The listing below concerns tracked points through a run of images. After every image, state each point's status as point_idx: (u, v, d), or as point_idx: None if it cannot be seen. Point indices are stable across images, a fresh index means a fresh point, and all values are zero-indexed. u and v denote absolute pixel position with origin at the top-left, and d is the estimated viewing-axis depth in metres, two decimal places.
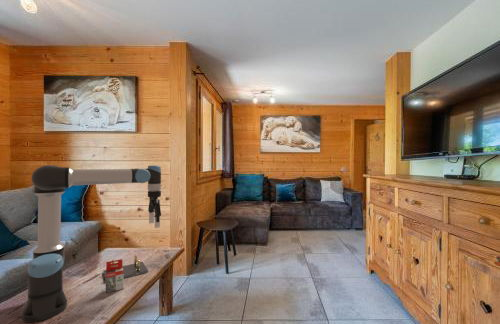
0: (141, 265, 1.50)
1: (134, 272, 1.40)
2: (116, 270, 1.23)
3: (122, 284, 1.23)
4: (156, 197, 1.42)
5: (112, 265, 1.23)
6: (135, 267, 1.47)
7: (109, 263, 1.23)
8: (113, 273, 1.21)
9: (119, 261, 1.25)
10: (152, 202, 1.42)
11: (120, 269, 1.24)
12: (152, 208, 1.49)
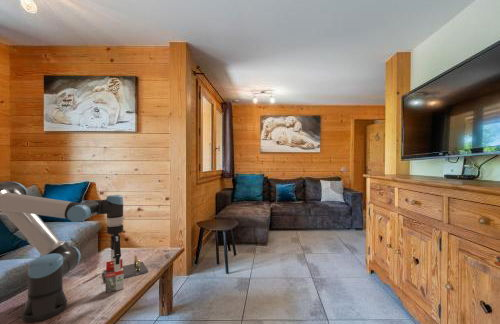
0: (141, 265, 1.50)
1: (134, 272, 1.40)
2: None
3: (122, 284, 1.23)
4: (116, 233, 1.20)
5: (112, 265, 1.23)
6: (135, 267, 1.47)
7: (109, 263, 1.23)
8: (113, 273, 1.21)
9: None
10: (112, 239, 1.20)
11: None
12: None
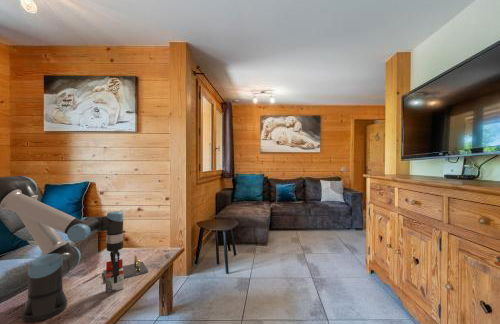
0: (141, 265, 1.50)
1: (134, 272, 1.40)
2: None
3: (122, 284, 1.23)
4: (116, 251, 1.20)
5: (112, 265, 1.23)
6: (135, 267, 1.47)
7: (109, 263, 1.23)
8: None
9: (119, 261, 1.25)
10: (111, 257, 1.20)
11: (120, 269, 1.24)
12: None
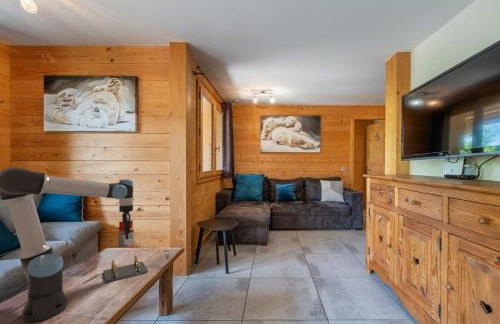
0: (141, 265, 1.50)
1: (134, 272, 1.40)
2: None
3: (132, 241, 1.44)
4: (127, 212, 1.40)
5: None
6: (135, 267, 1.47)
7: (121, 223, 1.43)
8: None
9: (130, 221, 1.46)
10: (123, 217, 1.41)
11: (131, 228, 1.45)
12: None
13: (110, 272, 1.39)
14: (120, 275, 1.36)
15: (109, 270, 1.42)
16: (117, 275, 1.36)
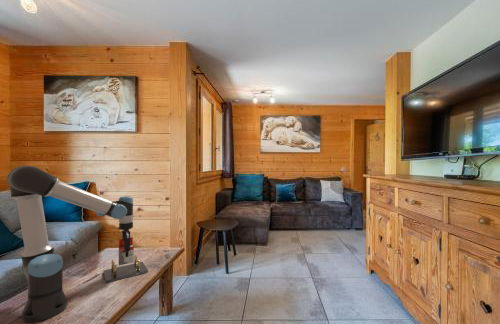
0: (141, 265, 1.50)
1: (134, 272, 1.40)
2: None
3: (133, 258, 1.44)
4: (127, 229, 1.40)
5: None
6: (135, 267, 1.47)
7: (121, 240, 1.43)
8: None
9: (130, 238, 1.45)
10: (123, 235, 1.40)
11: (131, 245, 1.44)
12: None
13: (110, 272, 1.39)
14: (120, 275, 1.36)
15: (109, 270, 1.42)
16: (117, 275, 1.36)
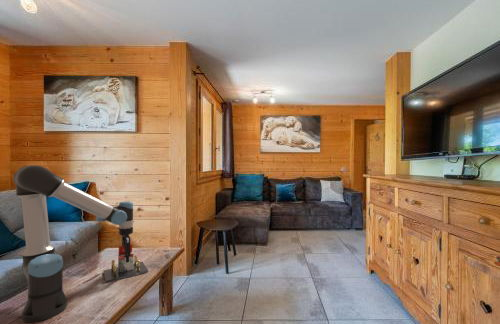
0: (141, 265, 1.50)
1: (134, 272, 1.40)
2: None
3: (132, 265, 1.43)
4: (127, 235, 1.40)
5: (123, 249, 1.43)
6: (135, 267, 1.47)
7: (121, 247, 1.43)
8: None
9: None
10: (123, 240, 1.40)
11: None
12: None
13: (110, 272, 1.39)
14: (120, 275, 1.36)
15: (109, 270, 1.42)
16: (117, 275, 1.36)
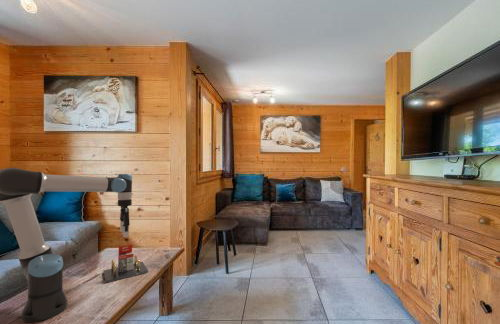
0: (141, 265, 1.50)
1: (134, 272, 1.40)
2: (127, 253, 1.43)
3: (132, 265, 1.43)
4: (126, 206, 1.40)
5: (123, 249, 1.44)
6: (135, 267, 1.47)
7: (121, 247, 1.43)
8: (125, 256, 1.41)
9: (129, 245, 1.45)
10: (122, 211, 1.40)
11: (130, 253, 1.44)
12: None
13: (110, 272, 1.39)
14: (120, 275, 1.36)
15: (109, 270, 1.42)
16: (117, 275, 1.36)
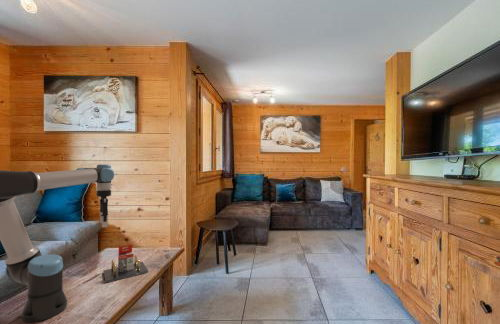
0: (141, 265, 1.50)
1: (134, 272, 1.40)
2: (127, 253, 1.43)
3: (132, 265, 1.43)
4: (105, 196, 1.41)
5: (123, 249, 1.44)
6: (135, 267, 1.47)
7: (121, 247, 1.43)
8: (125, 256, 1.41)
9: (129, 245, 1.45)
10: (100, 201, 1.40)
11: (130, 253, 1.44)
12: None
13: (110, 272, 1.39)
14: (120, 275, 1.36)
15: (109, 270, 1.42)
16: (117, 275, 1.36)
